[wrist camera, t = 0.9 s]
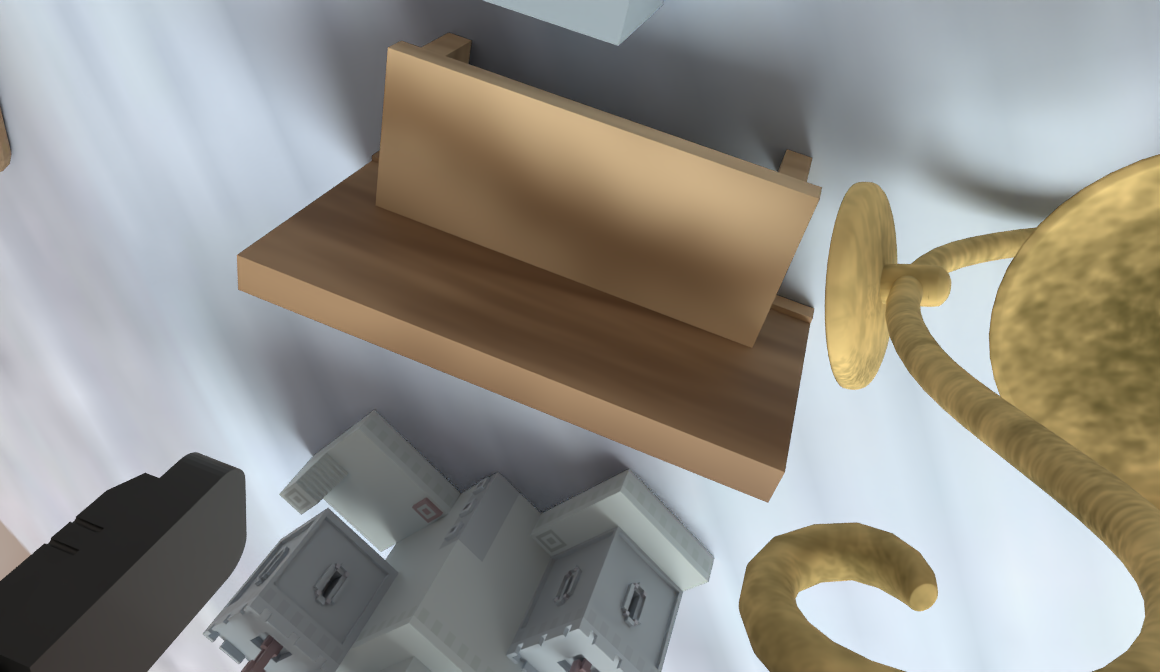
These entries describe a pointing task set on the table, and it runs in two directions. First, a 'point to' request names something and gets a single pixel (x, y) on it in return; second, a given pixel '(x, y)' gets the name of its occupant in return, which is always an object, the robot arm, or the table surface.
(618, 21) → the grey rectangular box
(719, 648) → the table surface
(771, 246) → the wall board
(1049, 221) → the wall sconce
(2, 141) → the block
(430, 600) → the castle model
